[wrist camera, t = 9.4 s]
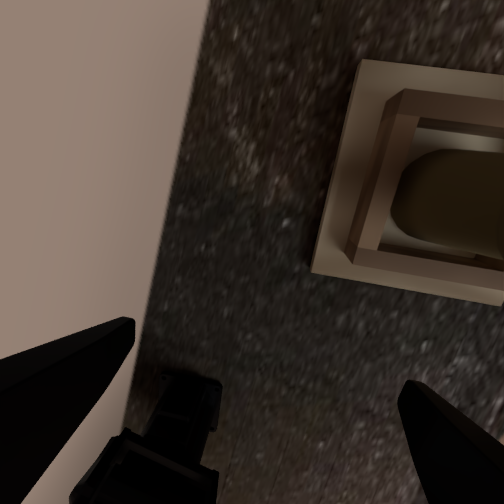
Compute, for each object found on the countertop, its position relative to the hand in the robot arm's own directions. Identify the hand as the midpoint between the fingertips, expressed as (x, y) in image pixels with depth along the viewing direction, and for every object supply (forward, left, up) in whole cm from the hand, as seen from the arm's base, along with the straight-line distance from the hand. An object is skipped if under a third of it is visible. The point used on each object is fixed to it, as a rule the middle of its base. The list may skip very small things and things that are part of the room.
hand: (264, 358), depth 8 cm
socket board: (+6, -10, -13) cm, 17 cm away
